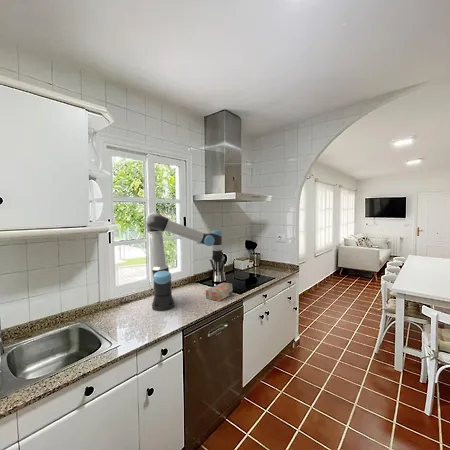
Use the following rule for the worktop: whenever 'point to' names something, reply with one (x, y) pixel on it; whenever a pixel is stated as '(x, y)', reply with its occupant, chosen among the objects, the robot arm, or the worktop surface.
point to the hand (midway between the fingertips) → (218, 279)
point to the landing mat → (230, 294)
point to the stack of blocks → (219, 291)
